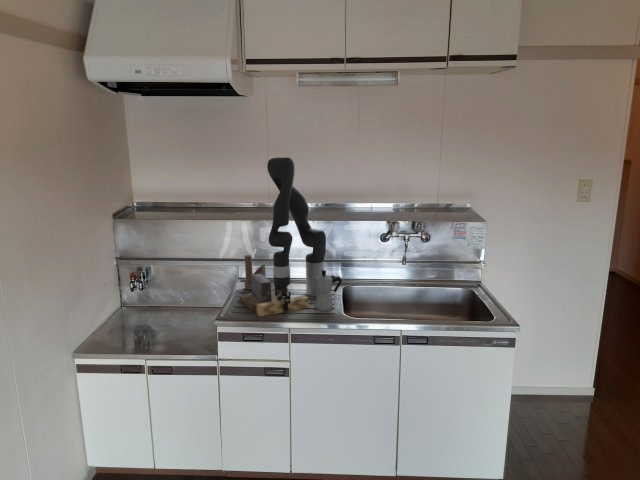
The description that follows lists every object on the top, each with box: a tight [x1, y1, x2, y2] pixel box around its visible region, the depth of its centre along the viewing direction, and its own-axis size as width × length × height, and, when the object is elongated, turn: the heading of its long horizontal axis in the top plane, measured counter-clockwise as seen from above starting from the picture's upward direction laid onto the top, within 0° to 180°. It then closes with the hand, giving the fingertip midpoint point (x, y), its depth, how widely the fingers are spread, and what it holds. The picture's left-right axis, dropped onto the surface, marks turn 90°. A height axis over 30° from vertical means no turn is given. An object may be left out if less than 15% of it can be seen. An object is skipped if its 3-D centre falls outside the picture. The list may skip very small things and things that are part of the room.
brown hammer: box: [244, 254, 266, 291], centre depth 250 cm, size 4×11×18 cm, turn 68°
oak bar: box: [256, 295, 309, 317], centre depth 224 cm, size 24×4×5 cm, turn 114°
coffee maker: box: [310, 269, 343, 312], centre depth 226 cm, size 15×9×18 cm, turn 101°
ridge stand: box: [239, 273, 277, 312], centre depth 234 cm, size 16×18×12 cm
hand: (282, 308), depth 225 cm, fingers open, 6 cm apart
